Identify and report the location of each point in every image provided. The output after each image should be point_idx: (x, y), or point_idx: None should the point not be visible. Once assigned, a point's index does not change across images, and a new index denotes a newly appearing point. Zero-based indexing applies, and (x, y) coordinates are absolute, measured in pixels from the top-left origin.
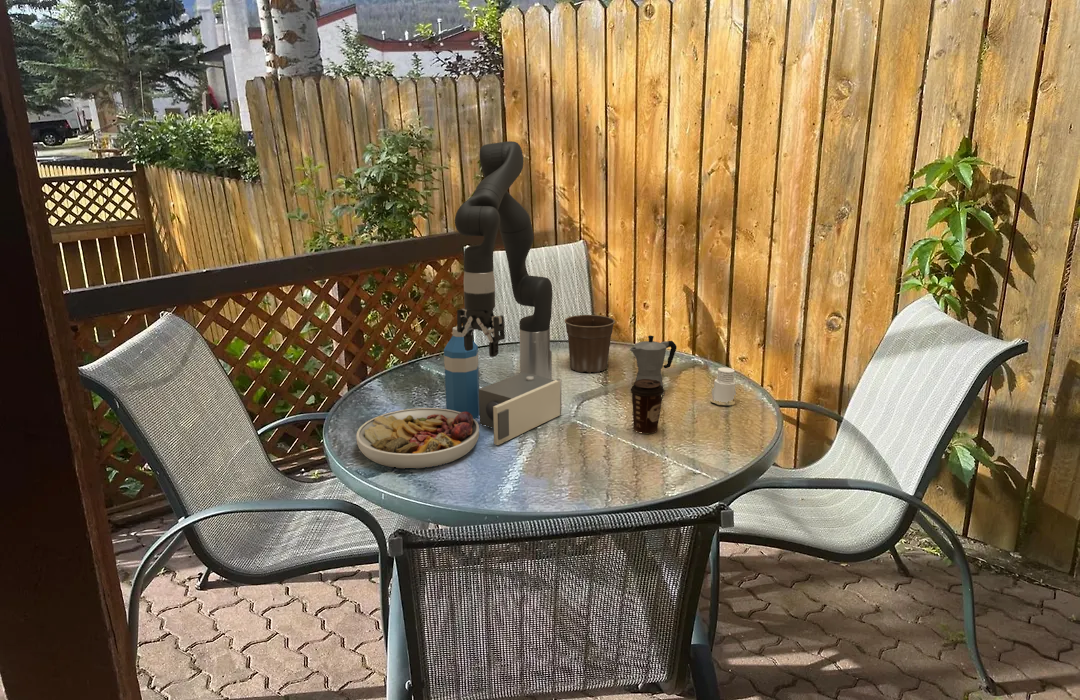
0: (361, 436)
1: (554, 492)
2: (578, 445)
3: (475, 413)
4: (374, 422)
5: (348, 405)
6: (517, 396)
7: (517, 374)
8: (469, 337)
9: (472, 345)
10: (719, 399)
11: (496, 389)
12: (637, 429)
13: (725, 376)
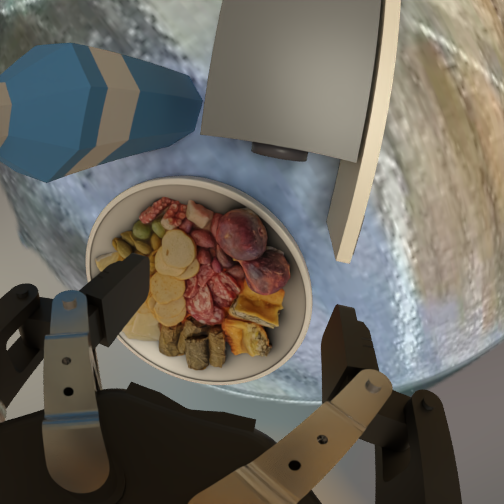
0: (131, 342)
1: (467, 324)
2: (474, 151)
3: (195, 107)
4: None
5: (11, 196)
6: (365, 149)
7: None
8: (109, 321)
9: (138, 269)
10: None
11: (254, 106)
12: None
13: None
